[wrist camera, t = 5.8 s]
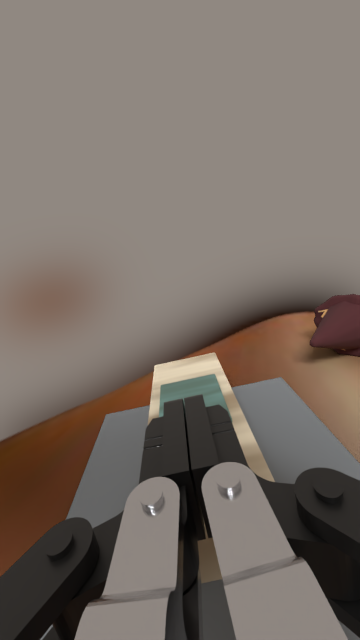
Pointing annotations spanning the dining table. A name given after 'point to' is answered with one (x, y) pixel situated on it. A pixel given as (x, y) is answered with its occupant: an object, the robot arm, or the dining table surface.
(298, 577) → the robot arm
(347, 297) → the maroon rounded piece
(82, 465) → the dining table surface
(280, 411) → the mat
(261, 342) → the dining table surface
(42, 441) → the dining table surface
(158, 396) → the birch block
